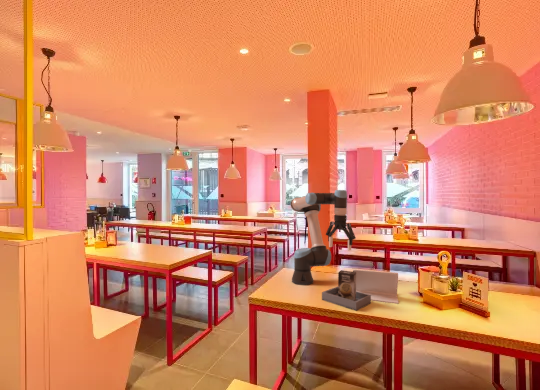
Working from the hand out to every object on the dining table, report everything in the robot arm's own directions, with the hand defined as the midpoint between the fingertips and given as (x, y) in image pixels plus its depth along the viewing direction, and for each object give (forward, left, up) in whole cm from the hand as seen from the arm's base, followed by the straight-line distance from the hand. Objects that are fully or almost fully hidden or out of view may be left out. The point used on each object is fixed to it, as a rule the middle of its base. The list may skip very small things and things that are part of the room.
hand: (339, 248), depth 173 cm
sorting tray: (+10, -9, -28) cm, 31 cm away
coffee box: (+11, -9, -27) cm, 31 cm away
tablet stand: (+17, +12, -28) cm, 35 cm away
